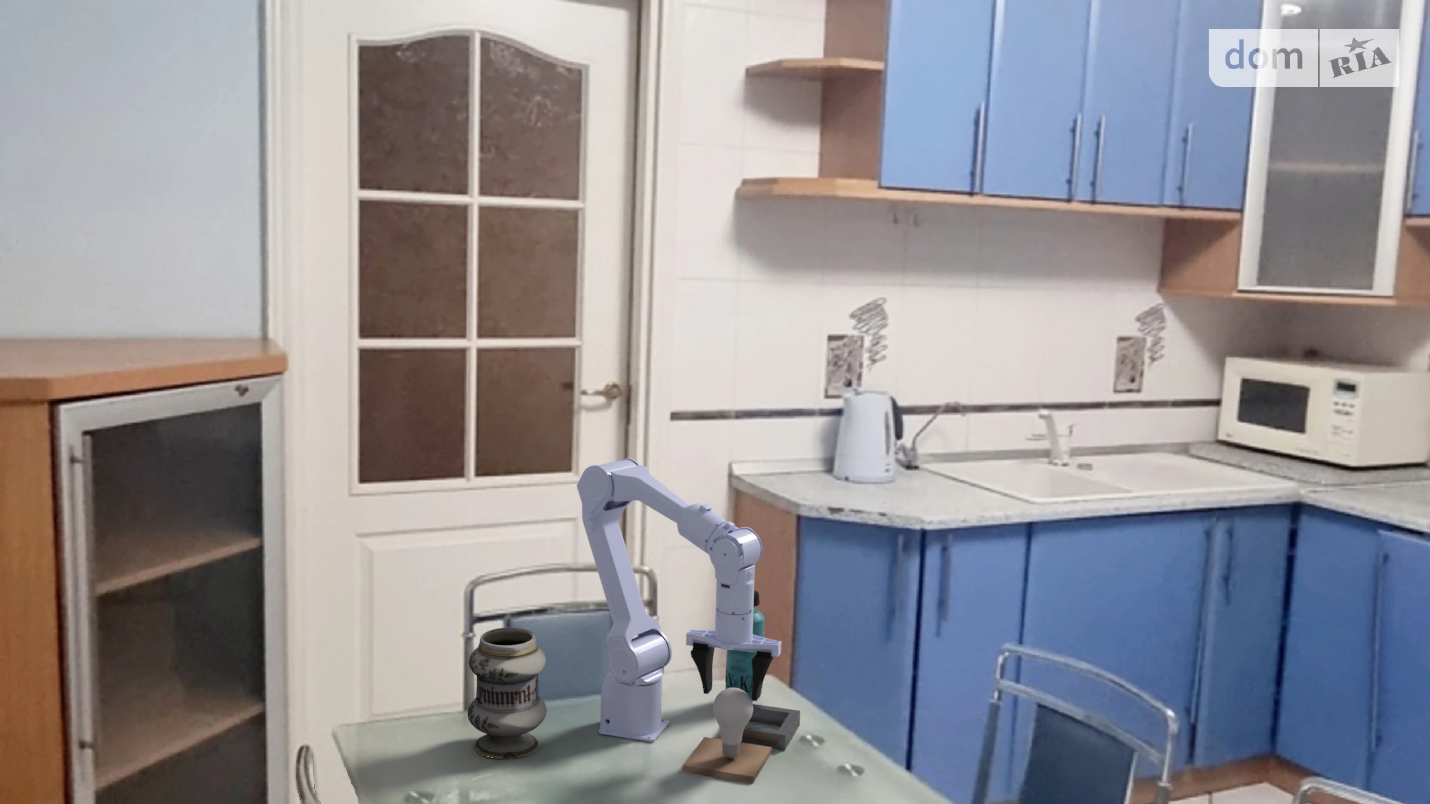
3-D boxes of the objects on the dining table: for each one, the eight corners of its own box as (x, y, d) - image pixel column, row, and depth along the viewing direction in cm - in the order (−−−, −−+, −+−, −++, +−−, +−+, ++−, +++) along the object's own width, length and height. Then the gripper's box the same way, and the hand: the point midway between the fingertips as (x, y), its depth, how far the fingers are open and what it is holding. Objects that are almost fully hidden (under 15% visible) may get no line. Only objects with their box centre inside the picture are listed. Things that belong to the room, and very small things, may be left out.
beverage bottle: (726, 694, 211) (730, 584, 208) (764, 697, 210) (768, 587, 208) (721, 708, 205) (725, 595, 202) (760, 712, 204) (764, 598, 201)
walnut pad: (682, 771, 180) (682, 765, 180) (704, 742, 191) (704, 736, 191) (753, 783, 177) (753, 776, 177) (771, 753, 188) (771, 747, 188)
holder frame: (720, 740, 192) (721, 725, 192) (738, 716, 202) (739, 701, 202) (784, 750, 189) (785, 735, 189) (799, 725, 199) (800, 710, 199)
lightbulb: (744, 769, 180) (748, 698, 178) (705, 762, 181) (709, 692, 180) (754, 753, 185) (758, 684, 184) (716, 747, 187) (719, 679, 185)
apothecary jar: (475, 767, 180) (475, 652, 177) (461, 735, 191) (461, 626, 188) (554, 757, 184) (555, 644, 182) (536, 726, 195) (537, 619, 193)
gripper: (680, 611, 180) (678, 697, 182) (774, 622, 176) (771, 711, 178) (695, 598, 187) (692, 681, 189) (785, 609, 183) (782, 694, 184)
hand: (731, 695), depth 184 cm, fingers open, 7 cm apart
